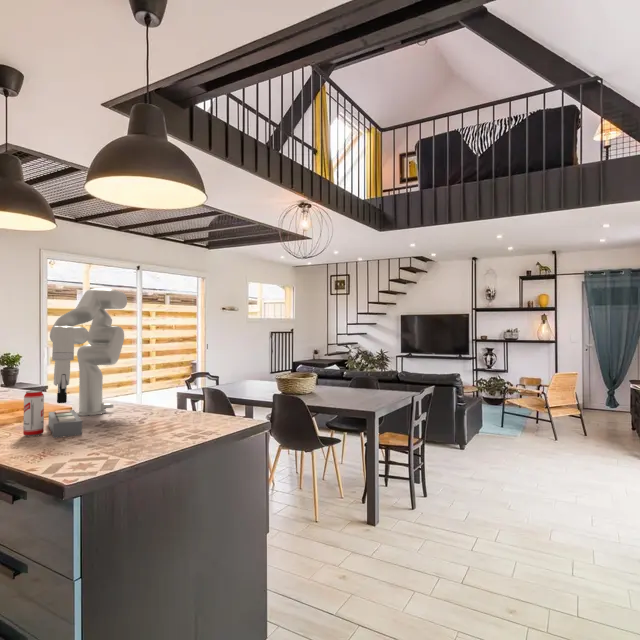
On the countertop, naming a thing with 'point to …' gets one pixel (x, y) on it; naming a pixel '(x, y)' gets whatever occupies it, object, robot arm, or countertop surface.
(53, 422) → the keypad
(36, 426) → the beer can
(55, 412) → the terracotta key
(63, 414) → the sage key
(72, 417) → the cream key
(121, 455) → the countertop surface
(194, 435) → the countertop surface
